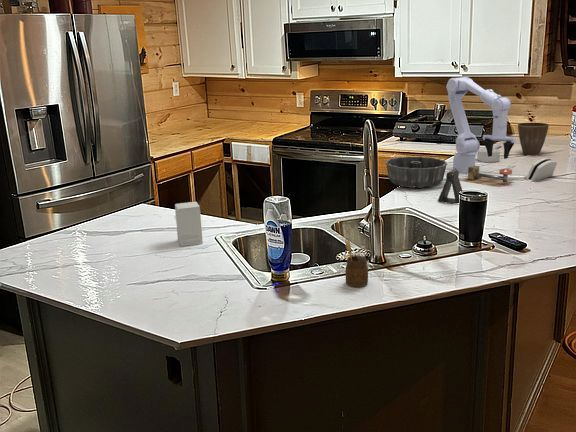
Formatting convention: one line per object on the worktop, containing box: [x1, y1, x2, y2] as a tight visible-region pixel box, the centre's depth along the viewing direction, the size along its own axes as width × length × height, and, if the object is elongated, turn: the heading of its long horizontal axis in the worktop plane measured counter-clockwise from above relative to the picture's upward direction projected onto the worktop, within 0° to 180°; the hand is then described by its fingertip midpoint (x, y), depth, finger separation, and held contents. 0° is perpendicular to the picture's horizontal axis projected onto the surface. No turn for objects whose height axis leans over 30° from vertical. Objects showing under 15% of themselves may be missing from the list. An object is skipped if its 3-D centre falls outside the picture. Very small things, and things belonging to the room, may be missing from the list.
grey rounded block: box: [523, 157, 558, 182], centre depth 269 cm, size 17×5×10 cm, turn 129°
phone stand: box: [437, 169, 463, 204], centre depth 237 cm, size 9×6×12 cm, turn 57°
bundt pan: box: [385, 155, 448, 189], centre depth 267 cm, size 26×26×10 cm
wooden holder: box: [465, 165, 481, 181], centre depth 268 cm, size 4×6×6 cm, turn 132°
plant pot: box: [517, 122, 550, 156], centre depth 319 cm, size 15×15×16 cm
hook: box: [477, 168, 513, 182], centre depth 261 cm, size 15×5×5 cm, turn 42°
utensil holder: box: [344, 237, 369, 288], centre depth 161 cm, size 6×6×12 cm
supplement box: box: [174, 201, 204, 247], centre depth 199 cm, size 7×7×13 cm
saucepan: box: [476, 145, 503, 163], centre depth 313 cm, size 12×20×6 cm, turn 138°
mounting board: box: [459, 176, 515, 188], centre depth 265 cm, size 20×12×1 cm, turn 42°
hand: (497, 157), depth 268 cm, fingers open, 7 cm apart
